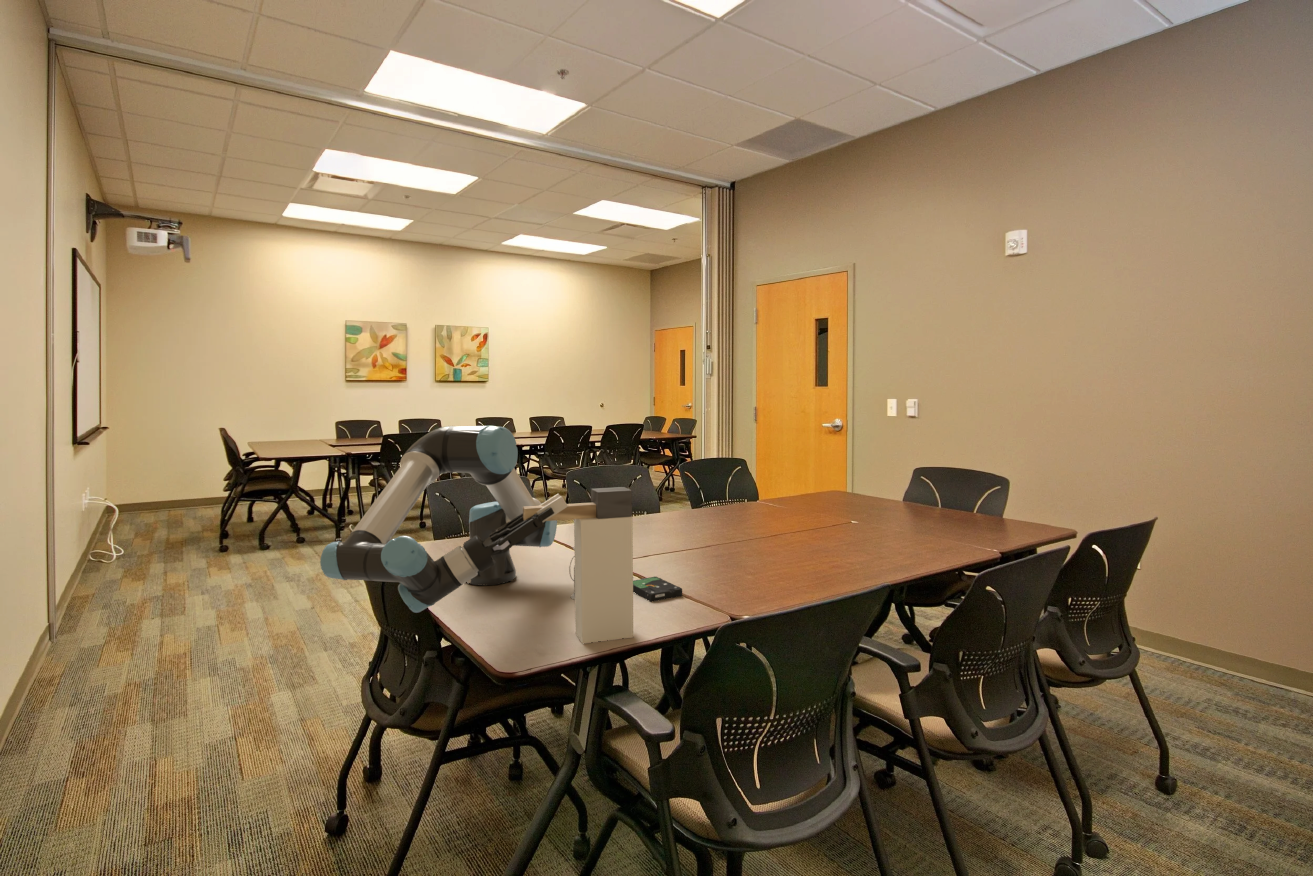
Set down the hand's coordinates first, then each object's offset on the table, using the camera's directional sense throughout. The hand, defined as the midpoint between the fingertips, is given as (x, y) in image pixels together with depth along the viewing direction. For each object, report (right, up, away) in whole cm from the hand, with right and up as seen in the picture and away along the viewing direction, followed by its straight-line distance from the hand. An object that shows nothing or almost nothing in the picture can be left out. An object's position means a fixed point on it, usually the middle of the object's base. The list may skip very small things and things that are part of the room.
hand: (562, 499), depth 153 cm
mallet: (+3, -4, +1) cm, 5 cm away
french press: (+2, -30, +35) cm, 46 cm away
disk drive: (+20, -30, +39) cm, 54 cm away
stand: (+9, -32, +5) cm, 34 cm away
